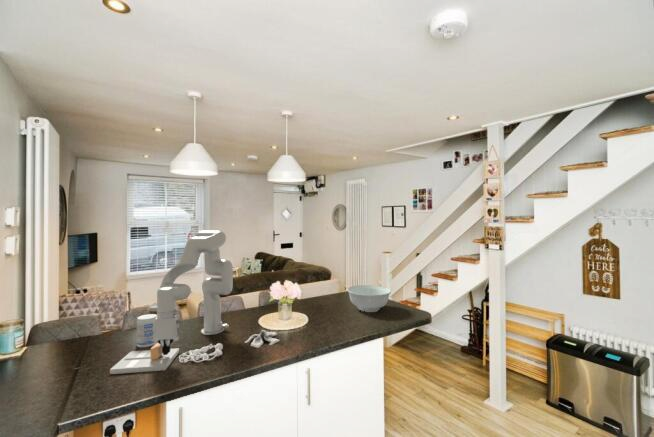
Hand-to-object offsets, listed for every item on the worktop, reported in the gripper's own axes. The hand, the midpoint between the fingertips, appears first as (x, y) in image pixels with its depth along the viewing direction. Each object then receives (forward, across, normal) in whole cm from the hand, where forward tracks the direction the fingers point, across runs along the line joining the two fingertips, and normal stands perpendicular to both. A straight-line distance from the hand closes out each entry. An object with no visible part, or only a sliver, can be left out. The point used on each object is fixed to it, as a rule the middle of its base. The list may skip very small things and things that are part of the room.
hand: (166, 353), depth 139 cm
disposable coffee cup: (+4, +24, -53) cm, 58 cm away
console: (+3, +8, 0) cm, 9 cm away
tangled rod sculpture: (+4, -16, -1) cm, 17 cm away
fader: (+1, +4, 0) cm, 4 cm away
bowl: (+4, -117, -63) cm, 133 cm away
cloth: (+4, -42, -18) cm, 46 cm away
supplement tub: (+4, +17, -22) cm, 28 cm away
